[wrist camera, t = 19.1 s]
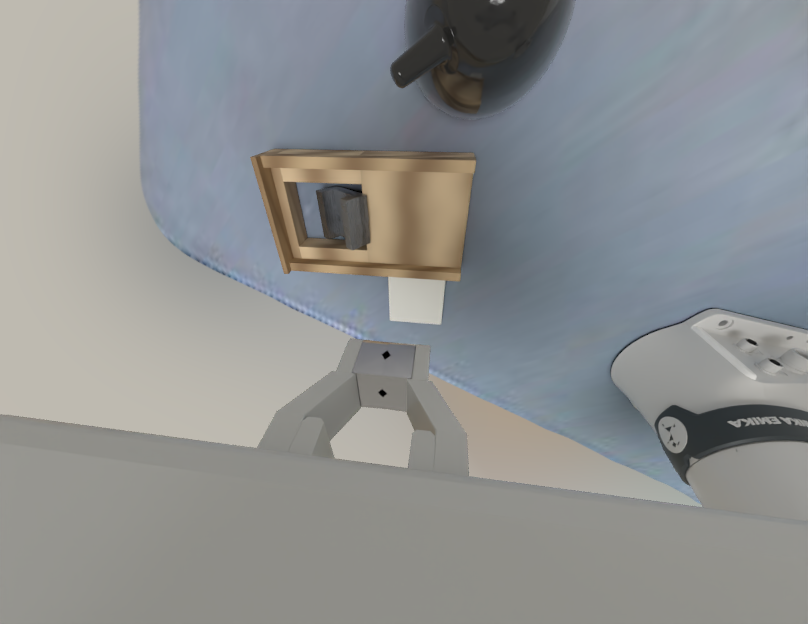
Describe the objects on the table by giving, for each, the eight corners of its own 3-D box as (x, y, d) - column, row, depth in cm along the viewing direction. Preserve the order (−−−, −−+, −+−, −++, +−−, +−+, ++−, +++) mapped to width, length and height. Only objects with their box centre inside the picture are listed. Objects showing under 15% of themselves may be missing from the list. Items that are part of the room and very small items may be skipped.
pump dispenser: (385, 12, 23) (311, -70, 11) (518, -117, 18) (644, -496, 6) (446, 141, 27) (441, 183, 15) (563, 62, 23) (683, 36, 11)
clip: (366, 194, 28) (346, 200, 27) (370, 242, 32) (352, 250, 30) (335, 185, 31) (315, 190, 30) (342, 230, 34) (324, 237, 33)
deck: (473, 152, 28) (476, 162, 24) (459, 265, 35) (460, 285, 31) (274, 148, 30) (250, 157, 26) (300, 255, 37) (284, 273, 33)
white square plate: (445, 275, 36) (445, 280, 35) (441, 319, 40) (441, 324, 39) (389, 271, 37) (388, 276, 36) (391, 315, 41) (389, 320, 40)
